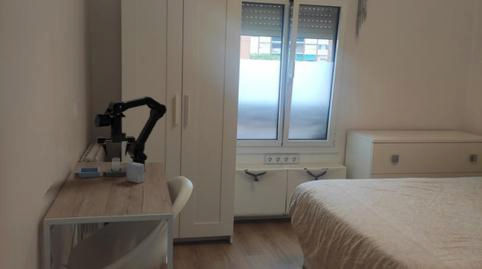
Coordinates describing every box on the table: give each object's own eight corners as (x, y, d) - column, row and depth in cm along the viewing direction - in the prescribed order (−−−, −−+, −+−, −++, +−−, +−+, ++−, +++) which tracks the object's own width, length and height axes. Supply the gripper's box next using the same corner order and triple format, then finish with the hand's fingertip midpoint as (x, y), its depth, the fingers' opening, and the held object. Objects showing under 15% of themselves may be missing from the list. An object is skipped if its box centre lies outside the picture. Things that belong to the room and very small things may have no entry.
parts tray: (99, 171, 230) (99, 166, 230) (100, 177, 219) (100, 172, 219) (79, 172, 227) (78, 167, 227) (78, 177, 216) (78, 172, 215)
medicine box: (144, 181, 214) (144, 164, 213) (138, 183, 210) (138, 165, 209) (133, 179, 218) (133, 161, 217) (126, 180, 214) (126, 163, 213)
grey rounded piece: (119, 172, 230) (119, 157, 229) (120, 174, 226) (120, 159, 225) (111, 172, 229) (111, 157, 227) (112, 174, 225) (112, 159, 224)
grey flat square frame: (125, 171, 234) (125, 167, 233) (126, 175, 224) (126, 171, 224) (105, 171, 230) (105, 168, 230) (106, 176, 221) (106, 172, 221)
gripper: (97, 128, 213) (97, 160, 216) (136, 128, 220) (136, 158, 222) (96, 125, 224) (96, 155, 226) (134, 125, 230) (134, 154, 232)
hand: (116, 156), depth 226 cm, fingers open, 9 cm apart
